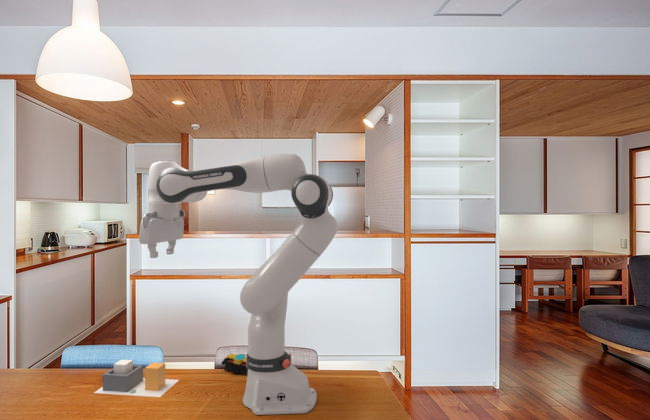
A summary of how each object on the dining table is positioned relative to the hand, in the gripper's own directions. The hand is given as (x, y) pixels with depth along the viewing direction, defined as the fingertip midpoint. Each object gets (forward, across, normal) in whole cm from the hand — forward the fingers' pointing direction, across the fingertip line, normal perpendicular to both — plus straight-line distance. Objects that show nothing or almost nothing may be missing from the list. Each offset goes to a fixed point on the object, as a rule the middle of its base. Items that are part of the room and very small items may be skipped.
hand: (162, 255), depth 124 cm
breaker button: (+39, +1, +13) cm, 41 cm away
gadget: (+43, +18, -21) cm, 51 cm away
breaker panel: (+44, +1, +8) cm, 44 cm away
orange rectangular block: (+42, +1, +2) cm, 42 cm away
